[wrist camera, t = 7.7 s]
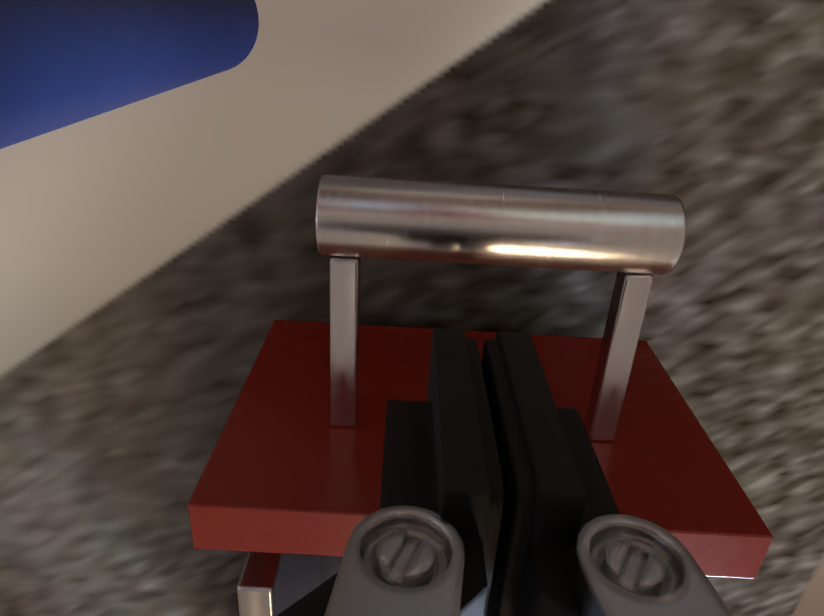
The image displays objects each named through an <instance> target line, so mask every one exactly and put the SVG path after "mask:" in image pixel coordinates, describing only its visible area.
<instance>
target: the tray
mask: <svg viewBox="0 0 824 616" xmlns="http://www.w3.org/2000/svg"><path fill="white" fill-rule="evenodd" d="M685 235H686V216H685V210H684V206H683V204H682V201H681V200H680V199H679V198H678V197H677V196H675V195H672V194H656V193H639V192H622V191H604V190H587V189H570V188H553V187H536V186H519V185H502V184H484V183H467V182H450V181H433V180H416V179H399V178H381V177H364V176H347V175H330V174H325V175H322V176H321V178H320V181H319V184H318V189H317V196H316V207H315V238H316V246H317V249H318V252H319V254H321V255H327V256H331V258H330V260H329V264H330V323H323V322H305V321H288V320H275V321H274V323H273V325H272V327H271V329H270V331H269V334H268V336H267V338H266V340H265V342H264V344H263V346H262V348H261V351H260V353H259V355H258V357H257V359H256V361H255V363H254V365H253V368H252V370H251V372H250V374H249V376H248V378H247V380H246V382H245V384H244V387H243V389H242V391H241V393H240V395H239V397H238V399H237V401H236V404H235V406H234V408H233V410H232V412H231V414H230V416H229V418H228V420H227V423H226V425H225V427H224V429H223V431H222V433H221V435H220V437H219V440H218V442H217V444H216V446H215V448H214V450H213V452H212V454H211V457H210V459H209V461H208V463H207V465H206V467H205V469H204V471H203V473H202V476H201V478H200V480H199V482H198V484H197V486H196V488H195V490H194V493H193V495H192V497H191V499H190V501H189V503H188V510H189V517H190V524H191V531H192V538H193V545H194V548H196V549H213V550H231V551H248V554H247V557H246V560H245V563H244V566H243V569H242V573H241V576H240V579H239V582H238V585H237V594H238V604H239V614H240V616H277V615H278V614H280V613H281V612H283V611H284V610H285V609H287V608H288V607H290V606H291V605H292V604H294V603H295V602H297V601H298V600H300V599H301V598H302V597H304V596H305V595H307V594H308V593H309V592H311V591H312V590H314V589H315V588H316V587H318V586H319V585H321V584H322V583H323V582H325V581H326V580H328V579H329V578H330V577H332V576H333V575H335V574H336V573H338V571H339V567H340V564H341V561H342V558H343V555H344V551H345V548H346V545H347V542H348V539H349V537H350V535H351V533H352V531H353V530H354V528H355V526H356V525H357V524H358V523H359V522H360V521H361V520H363V519H364V518H365V517H366V516H367V515H369V514H371V513H373V512H375V511H377V510H380V499H381V483H382V467H383V451H384V435H385V420H386V404H387V400H408V401H427V393H428V380H429V367H430V355H431V342H432V332H433V329H429V328H411V327H393V326H376V325H360V285H361V257H362V258H380V259H397V260H415V261H432V262H449V263H467V264H484V265H502V266H519V267H536V268H554V269H571V270H589V271H606V272H617V275H616V280H615V285H614V289H613V294H612V298H611V303H610V307H609V312H608V317H607V321H606V326H605V330H604V335H603V338H587V337H570V336H552V335H534V334H530V335H531V338H532V340H533V343H534V346H535V349H536V352H537V355H538V357H539V360H540V363H541V366H542V369H543V371H544V374H545V377H546V380H547V383H548V386H549V388H550V391H551V394H552V397H553V400H554V403H555V405H556V407H564V408H575V409H577V410H578V412H579V414H580V416H581V418H582V421H583V423H584V426H585V428H586V431H587V433H588V436H589V438H590V440H591V443H592V445H593V448H594V450H595V453H596V455H597V458H598V460H599V463H600V465H601V468H602V470H603V473H604V475H605V478H606V480H607V483H608V485H609V487H610V490H611V492H612V495H613V497H614V500H615V502H616V505H617V507H618V510H619V512H620V514H621V515H630V516H634V517H638V518H642V519H646V520H648V521H650V522H652V523H654V524H656V525H658V526H660V527H662V528H664V529H665V530H667V531H668V532H669V533H671V534H672V535H673V536H675V537H676V538H677V539H678V540H679V541H680V542H681V543H682V544H683V545H684V546H685V547H686V549H687V550H688V551H689V552H690V553H691V555H692V556H693V558H694V559H695V561H696V562H697V564H698V565H699V566H700V568H701V569H702V571H703V572H704V574H705V575H706V576H711V577H730V578H748V579H754V578H756V576H757V574H758V571H759V569H760V567H761V564H762V562H763V560H764V557H765V555H766V552H767V550H768V548H769V545H770V543H771V541H772V538H773V536H772V534H771V532H770V531H769V529H768V528H767V526H766V525H765V523H764V522H763V520H762V519H761V517H760V515H759V514H758V512H757V511H756V509H755V508H754V506H753V505H752V503H751V502H750V500H749V499H748V497H747V495H746V494H745V492H744V491H743V489H742V488H741V486H740V485H739V483H738V482H737V480H736V479H735V477H734V476H733V474H732V472H731V471H730V469H729V468H728V466H727V465H726V463H725V462H724V460H723V459H722V457H721V456H720V454H719V452H718V451H717V449H716V448H715V446H714V445H713V443H712V442H711V440H710V439H709V437H708V436H707V434H706V432H705V431H704V429H703V428H702V426H701V425H700V423H699V422H698V420H697V419H696V417H695V416H694V414H693V412H692V411H691V409H690V408H689V406H688V405H687V403H686V402H685V400H684V399H683V397H682V396H681V394H680V392H679V391H678V389H677V388H676V386H675V385H674V383H673V382H672V380H671V379H670V377H669V376H668V374H667V372H666V371H665V369H664V368H663V366H662V365H661V363H660V362H659V360H658V359H657V357H656V356H655V354H654V352H653V351H652V349H651V348H650V346H649V345H648V343H647V342H646V341H640V340H639V336H640V331H641V327H642V323H643V319H644V315H645V311H646V307H647V303H648V299H649V295H650V291H651V287H652V283H653V276H652V275H651V274H658V275H665V274H668V273H670V272H671V271H672V270H673V269H674V268H675V267H676V265H677V263H678V261H679V259H680V257H681V254H682V251H683V247H684V242H685ZM496 333H497V332H482V331H465V335H466V338H476V340H477V344H478V350H479V355H480V360H481V361H482V353H483V345H484V341H485V339H495V337H496Z"/></svg>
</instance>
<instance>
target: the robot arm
mask: <svg viewBox="0 0 824 616" xmlns="http://www.w3.org/2000/svg"><path fill="white" fill-rule="evenodd" d="M277 616H733V615H732V613H731V612H730V610H729V609H728V607H727V606H726V604H725V603H724V602H723V600H722V599H721V597H720V596H719V594H718V593H717V591H716V590H715V588H714V587H713V585H712V584H711V583H710V581H709V580H708V578H707V577H706V575H705V574H704V572H703V571H702V569H701V568H700V566H699V565H698V564H697V562H696V561H695V559H694V558H693V556H692V555H691V553H690V552H689V551H688V550H687V549H686V547H685V546H684V545H683V544H682V543H681V542H680V541H679V540H678V539H677V538H676V537H675V536H673V535H672V534H671V533H669V532H668V531H667V530H665V529H664V528H662V527H660V526H658V525H656V524H654V523H652V522H650V521H648V520H646V519H642V518H638V517H634V516H630V515H621V514H620V512H619V510H618V507H617V505H616V502H615V500H614V497H613V495H612V492H611V490H610V487H609V485H608V483H607V480H606V478H605V475H604V473H603V470H602V468H601V465H600V463H599V460H598V458H597V455H596V453H595V450H594V448H593V445H592V443H591V440H590V438H589V436H588V433H587V431H586V428H585V426H584V423H583V421H582V418H581V416H580V414H579V412H578V410H577V409H575V408H564V407H556V405H555V403H554V400H553V397H552V394H551V391H550V388H549V386H548V383H547V380H546V377H545V374H544V371H543V369H542V366H541V363H540V360H539V357H538V355H537V352H536V349H535V346H534V343H533V340H532V338H531V335H530V333H522V332H501V331H498V332H497V333H496V337H495V339H485V341H484V345H483V353H482V361H481V360H480V355H479V350H478V344H477V340H476V338H466V335H465V331H464V330H459V329H438V328H433V332H432V342H431V355H430V367H429V380H428V393H427V401H408V400H387V404H386V420H385V435H384V451H383V467H382V483H381V499H380V510H377V511H375V512H373V513H371V514H369V515H367V516H366V517H365V518H364V519H363V520H361V521H360V522H359V523H358V524H357V525H356V526H355V528H354V530H353V531H352V533H351V535H350V537H349V539H348V542H347V545H346V548H345V551H344V555H343V558H342V561H341V564H340V567H339V571H338V573H336V574H335V575H333V576H332V577H330V578H329V579H328V580H326V581H325V582H323V583H322V584H321V585H319V586H318V587H316V588H315V589H314V590H312V591H311V592H309V593H308V594H307V595H305V596H304V597H302V598H301V599H300V600H298V601H297V602H295V603H294V604H292V605H291V606H290V607H288V608H287V609H285V610H284V611H283V612H281V613H280V614H278V615H277Z"/></svg>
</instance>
